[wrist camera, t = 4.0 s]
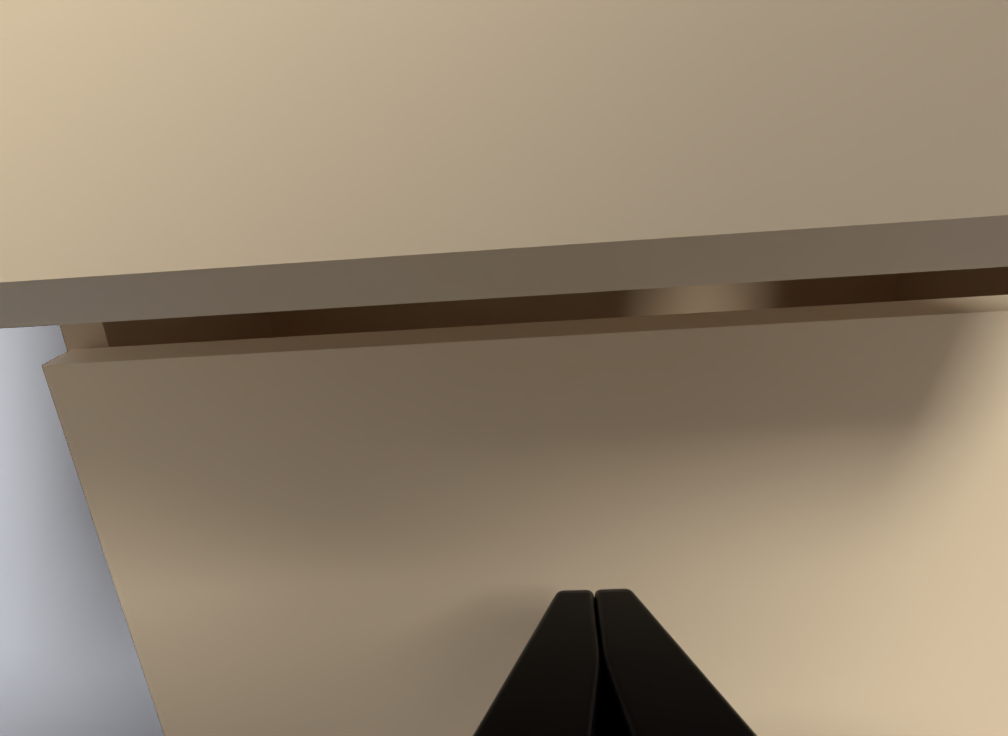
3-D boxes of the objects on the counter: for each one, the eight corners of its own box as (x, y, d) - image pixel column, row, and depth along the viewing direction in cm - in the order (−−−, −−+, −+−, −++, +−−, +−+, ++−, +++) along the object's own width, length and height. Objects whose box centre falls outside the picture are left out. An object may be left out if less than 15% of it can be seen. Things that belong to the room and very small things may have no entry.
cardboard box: (991, -372, 11) (1452, -866, 5) (875, 586, 17) (1034, 819, 12) (136, -262, 12) (-214, -577, 7) (313, 602, 18) (210, 821, 13)
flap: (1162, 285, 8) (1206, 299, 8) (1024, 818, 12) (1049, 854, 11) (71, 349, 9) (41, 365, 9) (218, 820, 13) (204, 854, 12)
